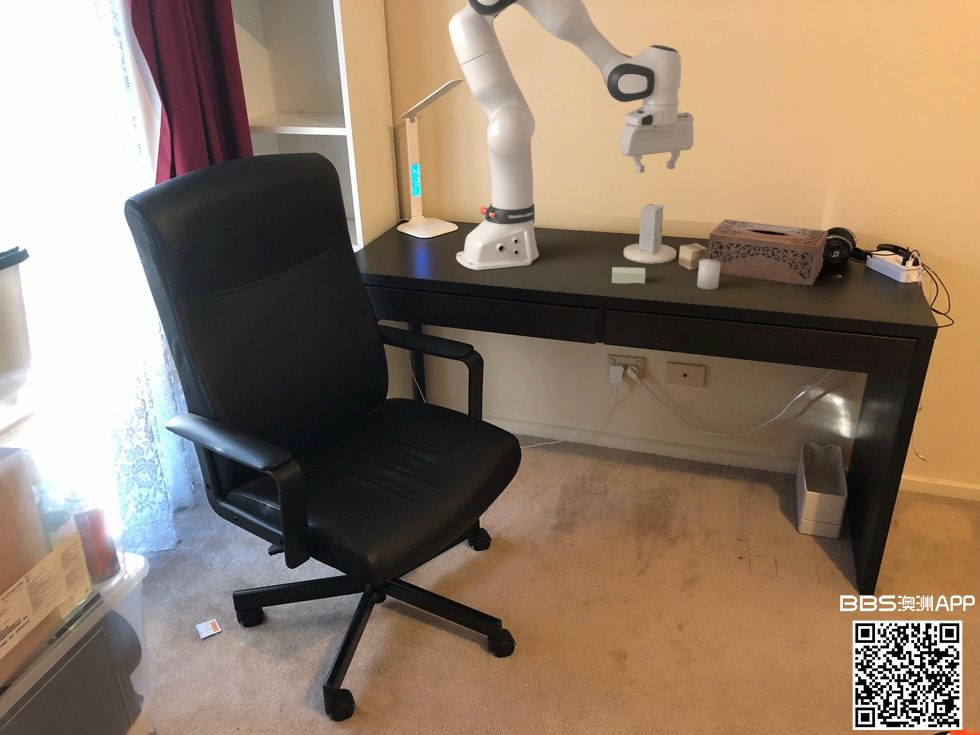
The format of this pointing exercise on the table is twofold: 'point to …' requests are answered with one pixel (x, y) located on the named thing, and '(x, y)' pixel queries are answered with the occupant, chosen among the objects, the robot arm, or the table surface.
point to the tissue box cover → (768, 251)
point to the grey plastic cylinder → (708, 274)
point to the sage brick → (628, 275)
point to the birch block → (692, 255)
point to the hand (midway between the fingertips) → (655, 170)
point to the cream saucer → (659, 257)
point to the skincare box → (651, 229)
